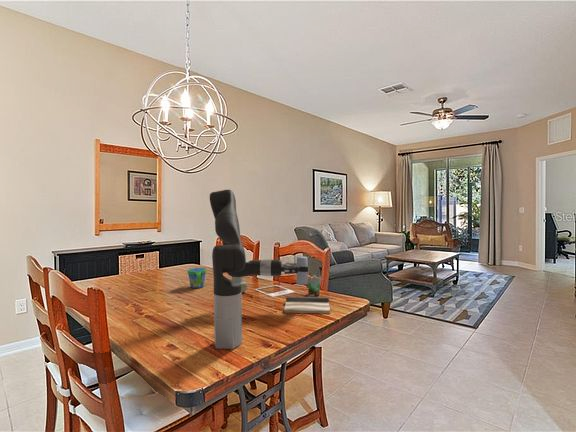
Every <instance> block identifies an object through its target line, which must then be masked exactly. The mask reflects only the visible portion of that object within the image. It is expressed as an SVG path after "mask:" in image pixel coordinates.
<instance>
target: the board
mask: <svg viewBox="0 0 576 432" xmlns="http://www.w3.org/2000/svg"><path fill="white" fill-rule="evenodd" d="M329 297H330V296H318V297H308V296H286V297H285V299H286V300H285V305H284V307H283V313H285V314H286V313H289V314H331V309H330V298H329Z"/></svg>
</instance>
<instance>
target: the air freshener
mask: <svg viewBox="0 0 576 432" xmlns="http://www.w3.org/2000/svg"><path fill="white" fill-rule="evenodd" d="M243 278H244V277H232V276H231V280H233V281H237V282H239V283H240V284H241V289H242V291H241V292H242V293H244V292H246V291H247V289H248V287H249V286H248V283H247V282H246V281H243Z"/></svg>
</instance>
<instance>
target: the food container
mask: <svg viewBox="0 0 576 432" xmlns="http://www.w3.org/2000/svg"><path fill="white" fill-rule="evenodd" d="M321 282H322V277H321V275H320V274H317V273H311V274H310V276H309V278H308V284H307V287H308V288H307V290H308V292H307V293H308V296H307V297H320V290H321V289H320V287H321Z"/></svg>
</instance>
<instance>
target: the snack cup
mask: <svg viewBox="0 0 576 432" xmlns="http://www.w3.org/2000/svg"><path fill="white" fill-rule="evenodd" d="M206 273H207V268H204V267H193V268H188V269H187V274H188V275H187V276H188V280H189V286H190V288H192V289H201V288H203V287H204V286H205V283H206Z"/></svg>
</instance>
